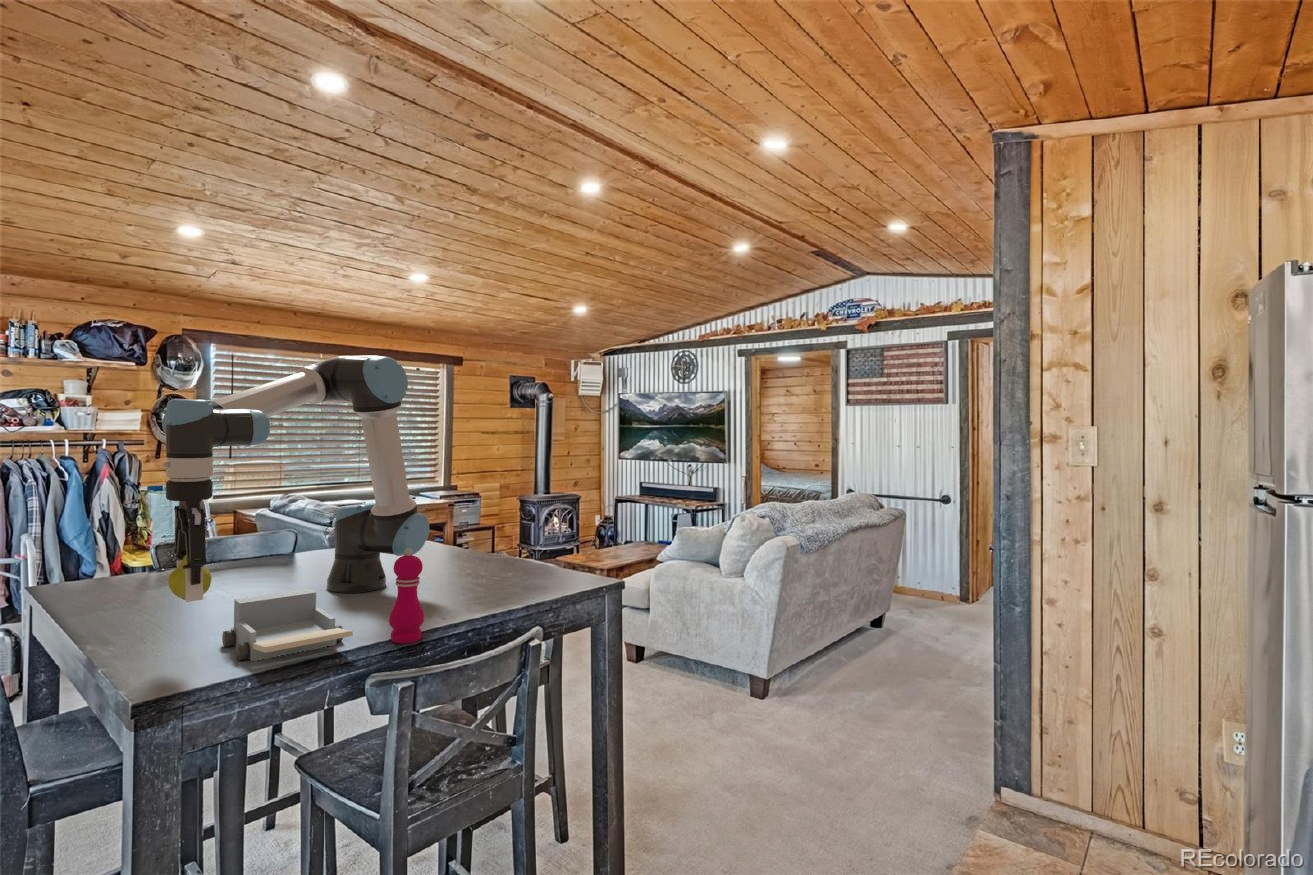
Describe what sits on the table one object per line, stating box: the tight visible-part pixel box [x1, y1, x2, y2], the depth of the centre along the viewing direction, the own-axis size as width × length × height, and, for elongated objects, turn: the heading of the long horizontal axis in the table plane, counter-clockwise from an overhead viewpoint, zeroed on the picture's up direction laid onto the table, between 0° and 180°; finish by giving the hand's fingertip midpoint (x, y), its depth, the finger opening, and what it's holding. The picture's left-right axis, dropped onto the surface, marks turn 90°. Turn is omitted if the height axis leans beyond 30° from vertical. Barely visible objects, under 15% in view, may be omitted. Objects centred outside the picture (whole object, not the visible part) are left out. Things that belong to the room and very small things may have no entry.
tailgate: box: [253, 628, 354, 653], centre depth 139 cm, size 1×16×8 cm
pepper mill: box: [388, 548, 425, 644], centre depth 153 cm, size 7×7×20 cm
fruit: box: [167, 555, 212, 601], centre depth 136 cm, size 7×7×12 cm
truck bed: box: [221, 588, 344, 663], centre depth 147 cm, size 15×20×9 cm
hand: (189, 595), depth 136 cm, fingers closed on fruit, 7 cm apart
